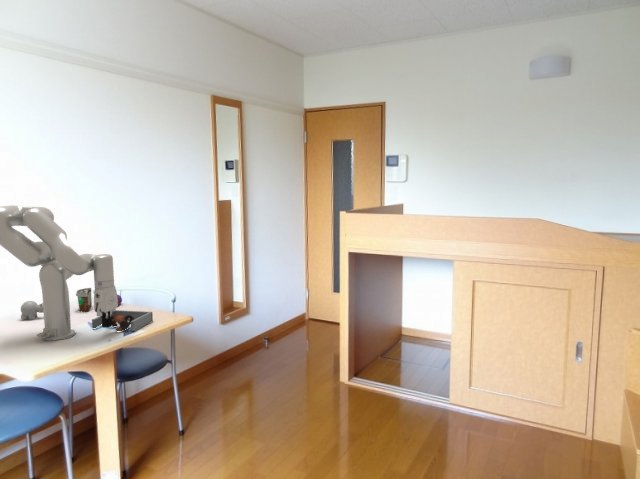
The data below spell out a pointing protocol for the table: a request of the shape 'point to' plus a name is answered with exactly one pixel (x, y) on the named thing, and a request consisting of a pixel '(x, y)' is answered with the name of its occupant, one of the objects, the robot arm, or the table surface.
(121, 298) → the kendama
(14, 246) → the robot arm
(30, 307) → the chubby cartoon animal
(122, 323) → the pottery mug
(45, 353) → the table surface
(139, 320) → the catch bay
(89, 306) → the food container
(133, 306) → the table surface
